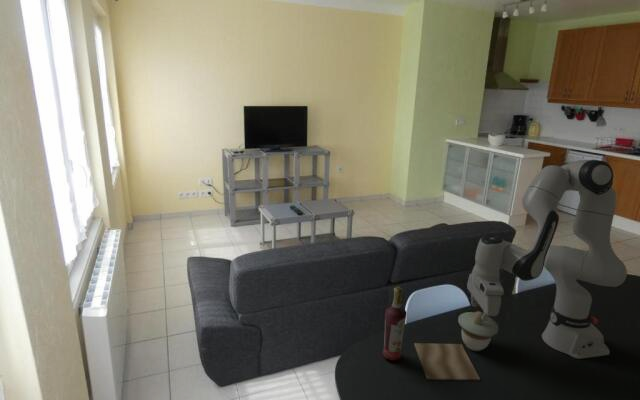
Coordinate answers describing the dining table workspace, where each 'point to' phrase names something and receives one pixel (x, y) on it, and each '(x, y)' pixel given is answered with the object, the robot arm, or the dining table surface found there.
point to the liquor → (394, 327)
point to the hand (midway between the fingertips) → (478, 312)
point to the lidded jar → (475, 341)
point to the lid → (477, 324)
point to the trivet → (445, 362)
